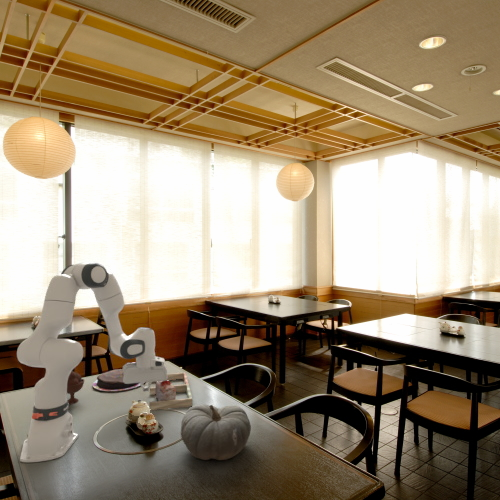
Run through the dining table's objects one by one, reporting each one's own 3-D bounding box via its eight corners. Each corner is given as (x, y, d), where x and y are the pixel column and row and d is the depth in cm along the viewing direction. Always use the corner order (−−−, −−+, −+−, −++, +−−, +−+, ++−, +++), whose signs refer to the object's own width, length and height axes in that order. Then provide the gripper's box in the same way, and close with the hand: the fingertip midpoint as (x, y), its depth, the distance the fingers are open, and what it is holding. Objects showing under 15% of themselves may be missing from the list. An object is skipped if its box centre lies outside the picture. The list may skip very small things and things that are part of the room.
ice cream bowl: (78, 406, 181) (78, 374, 181) (55, 406, 182) (54, 374, 181) (88, 397, 192) (88, 367, 192) (66, 397, 192) (65, 367, 192)
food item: (178, 404, 182) (177, 383, 182) (161, 408, 178) (161, 386, 178) (168, 395, 194) (168, 375, 194) (152, 398, 190) (152, 378, 190)
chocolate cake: (157, 380, 216) (157, 368, 216) (116, 397, 193) (116, 384, 193) (123, 372, 231) (123, 361, 231) (81, 387, 207) (80, 374, 207)
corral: (192, 406, 180) (192, 398, 180) (149, 411, 175) (149, 403, 175) (185, 378, 218) (185, 372, 218) (150, 381, 214) (150, 375, 214)
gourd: (172, 432, 148) (180, 388, 148) (233, 432, 157) (241, 390, 156) (184, 475, 125) (193, 423, 124) (255, 472, 134) (264, 423, 133)
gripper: (122, 365, 179) (122, 395, 179) (167, 362, 183) (167, 391, 183) (123, 361, 185) (123, 390, 185) (167, 358, 189) (167, 387, 189)
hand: (145, 391), depth 184 cm, fingers closed
